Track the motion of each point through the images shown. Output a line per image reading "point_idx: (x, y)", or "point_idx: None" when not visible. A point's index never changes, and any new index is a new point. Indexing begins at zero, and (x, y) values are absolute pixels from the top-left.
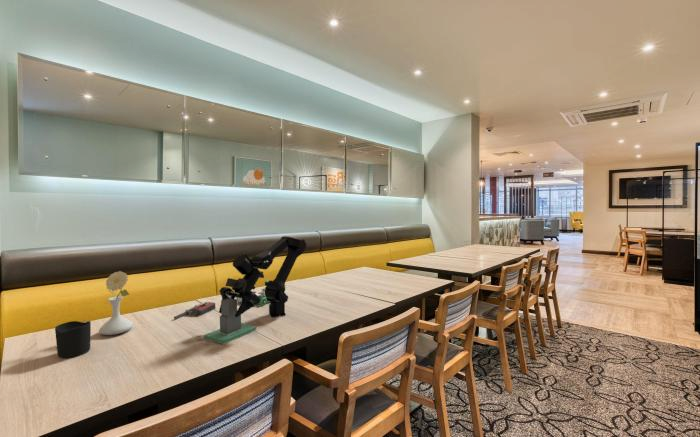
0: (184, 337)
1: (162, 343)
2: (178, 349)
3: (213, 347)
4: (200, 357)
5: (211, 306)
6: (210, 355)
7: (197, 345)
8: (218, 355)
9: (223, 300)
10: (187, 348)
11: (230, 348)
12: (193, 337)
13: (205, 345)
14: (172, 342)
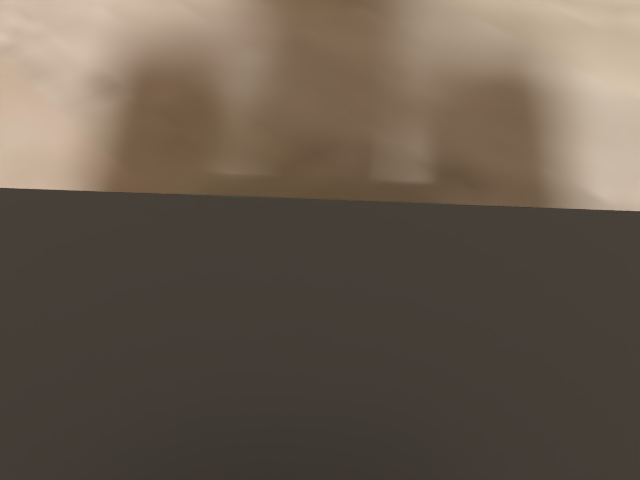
0: (624, 149)
1: (637, 13)
2: (430, 8)
3: (218, 135)
4: (176, 3)
5: None
6: (132, 46)
7: (370, 103)
8: (75, 69)
9: (524, 273)
10: (388, 42)
11: (67, 185)
12: (559, 185)
13: (311, 130)
14: (595, 52)
